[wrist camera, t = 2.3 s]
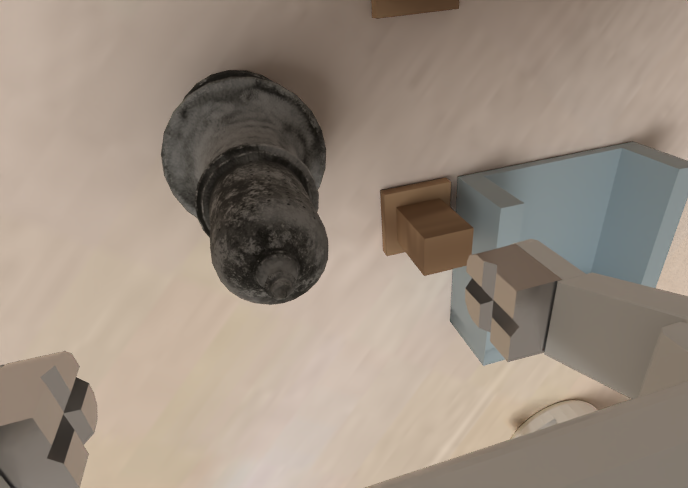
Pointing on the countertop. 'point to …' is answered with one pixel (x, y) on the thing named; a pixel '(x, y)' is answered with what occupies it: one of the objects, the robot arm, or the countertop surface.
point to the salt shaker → (251, 182)
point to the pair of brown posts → (423, 192)
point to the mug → (555, 416)
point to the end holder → (574, 217)
